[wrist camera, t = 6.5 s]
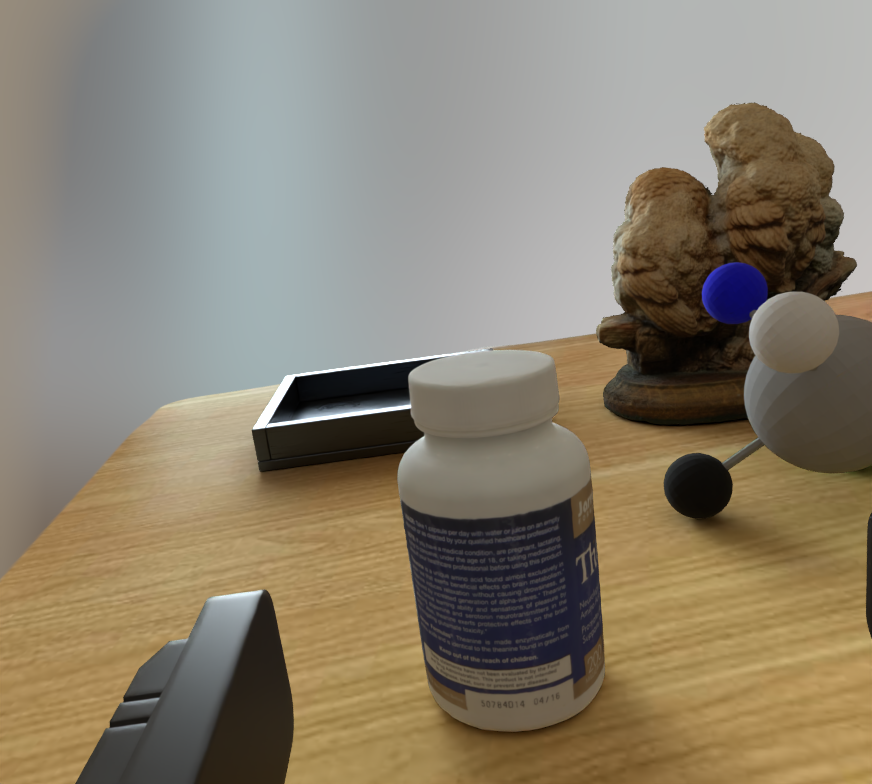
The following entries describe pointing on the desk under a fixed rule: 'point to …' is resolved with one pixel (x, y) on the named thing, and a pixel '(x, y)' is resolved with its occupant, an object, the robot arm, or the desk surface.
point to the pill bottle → (501, 543)
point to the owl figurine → (716, 264)
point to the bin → (339, 415)
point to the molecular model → (786, 387)
